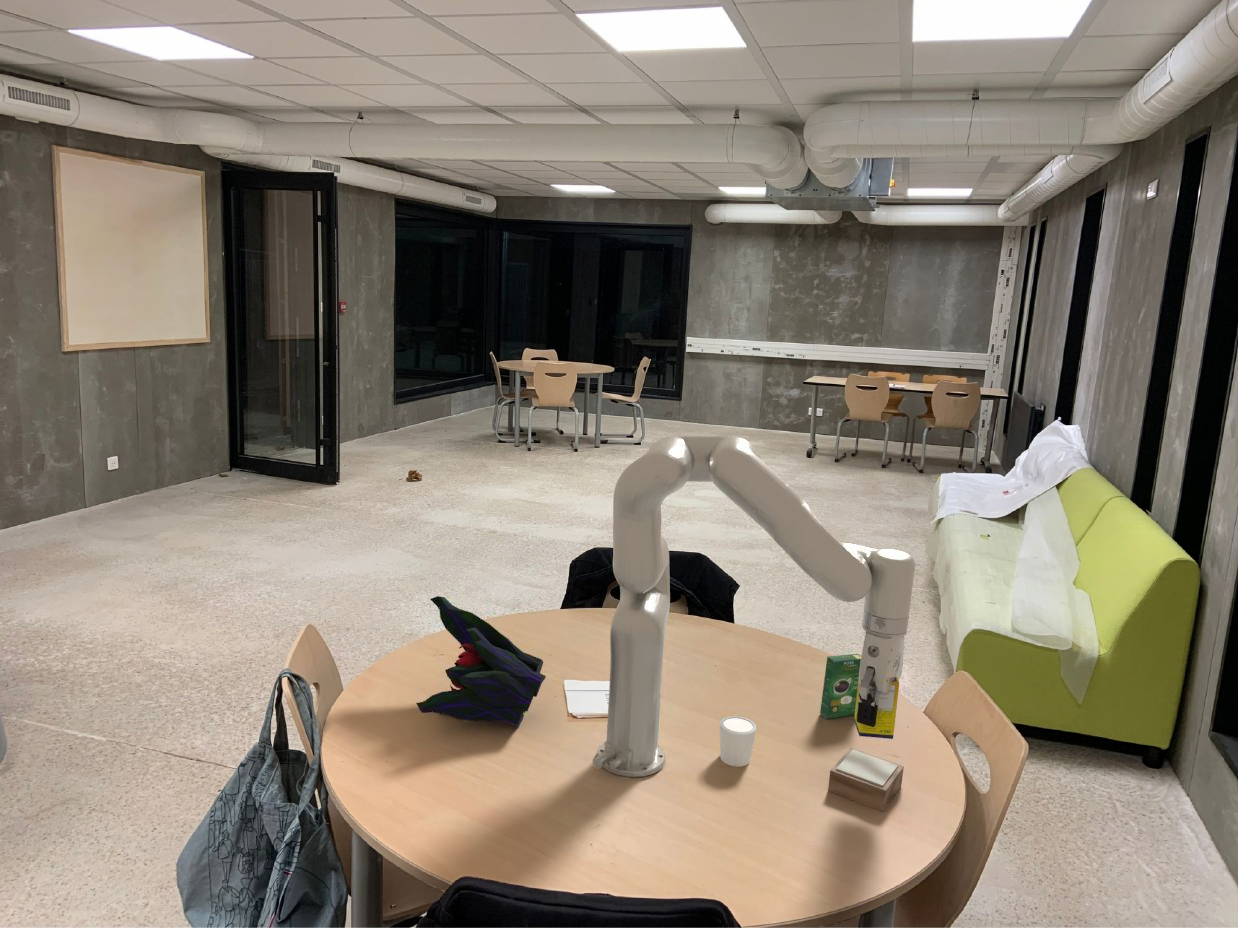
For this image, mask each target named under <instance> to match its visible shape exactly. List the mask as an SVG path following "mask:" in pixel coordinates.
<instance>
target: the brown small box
mask: <svg viewBox="0 0 1238 928" xmlns="http://www.w3.org/2000/svg"><path fill="white" fill-rule="evenodd" d="M904 767H905V766H904V765H902V764H898V763H895V762H892V761H890V760H886V759H884V758H881V757H879V756H878V757H877V756H875V755H872V754H870V753H867V752H863V751H860V750H858V749H856V748H852V747H850V748H848V750H847V751H846V752H845V753H844V754H843V755H842V757H840V758H839V760H838V761H837V762H836V763H835V764H834V765H833V766H832V768H831V769H830V770H829V776H828V777H829V778H828V787H827V788H828V789H827V791H828V792H830V793H833V794H836V795H839V796H841V797H843V798H847V799H849V800H852V801H854V802H857V803H859V804H861V805H864V806H867V807H870V808H873V809H875V810H878V811H881V812H884V811H886V810H885V809H886V808H887V807H888V805H889V804H890V803H891V802H892V801H893V799H894V797H895V796H896V795H897V793H898V792H899V791H900V789H901V787H902V782H903V775H904Z"/></svg>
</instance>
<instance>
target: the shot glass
mask: <svg viewBox="0 0 1238 928" xmlns="http://www.w3.org/2000/svg"><path fill="white" fill-rule="evenodd" d="M757 728H758V727H757V725H756V723H755V722H754V721H753V720H751V719H749V718H746V717H744V716H743V717H742V716H731V715H730V716H726V717H724V718H722V719H721V720H720V721H719V742H720V743H719V749H720V750H719V753H720V754H719V756H720V757H719V758H720V760H721V761H722V762H723V763H724V764H725V765H728V766H732V767H745V766H748V765H749V764H750V762H751V757H752V753H753V748H754V743H755V738H756V733H757Z"/></svg>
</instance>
